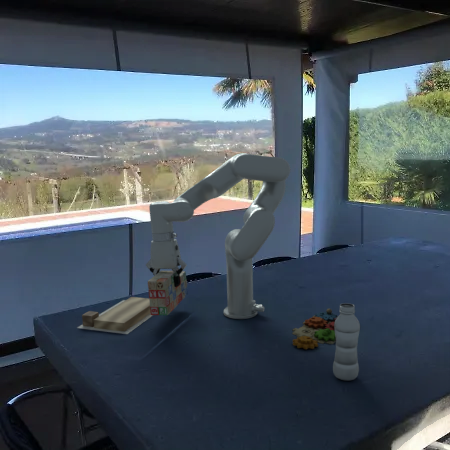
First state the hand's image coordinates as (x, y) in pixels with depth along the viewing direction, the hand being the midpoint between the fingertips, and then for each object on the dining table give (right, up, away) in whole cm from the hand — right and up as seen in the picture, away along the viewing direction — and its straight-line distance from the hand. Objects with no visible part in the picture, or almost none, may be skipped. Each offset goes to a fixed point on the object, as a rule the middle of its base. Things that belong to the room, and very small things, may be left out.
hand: (168, 285), depth 163 cm
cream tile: (-17, -13, +5) cm, 21 cm away
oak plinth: (-15, -12, +4) cm, 20 cm away
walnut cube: (-27, -13, -3) cm, 30 cm away
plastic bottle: (+52, -19, -43) cm, 70 cm away
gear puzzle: (+52, -15, -13) cm, 55 cm away
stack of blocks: (+1, -7, +2) cm, 8 cm away
